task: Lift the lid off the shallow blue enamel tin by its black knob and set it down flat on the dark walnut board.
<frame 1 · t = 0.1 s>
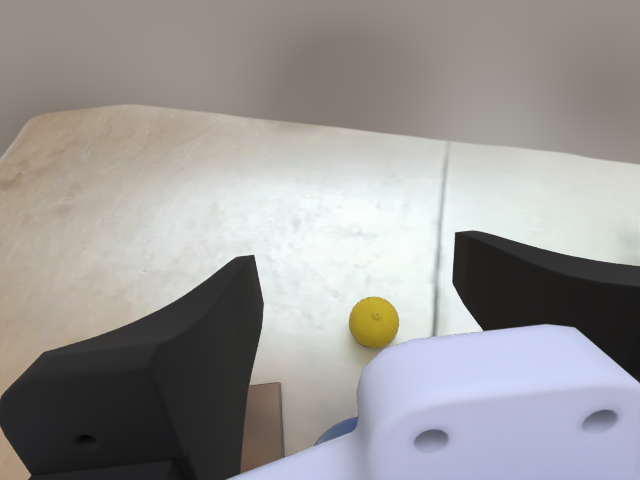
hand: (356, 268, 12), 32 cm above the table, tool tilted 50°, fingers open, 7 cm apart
lemon: (370, 329, 43), on the table
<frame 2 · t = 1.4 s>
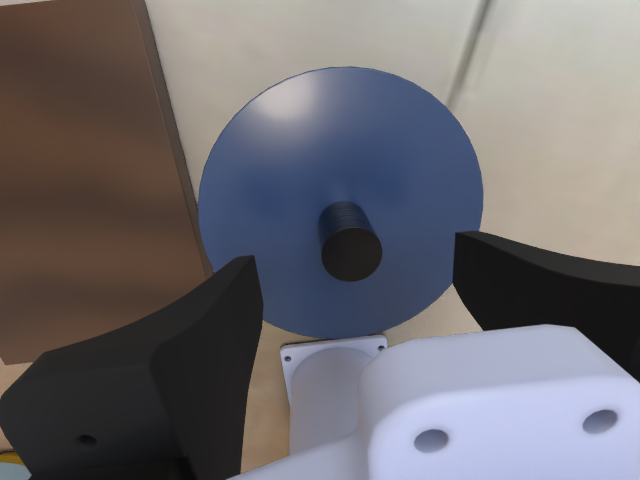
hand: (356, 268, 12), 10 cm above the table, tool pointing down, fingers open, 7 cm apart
bottle: (26, 472, 30), on the table
lid: (341, 221, 17), point 5 cm above the table, touching tin
board: (71, 207, 21), on the table
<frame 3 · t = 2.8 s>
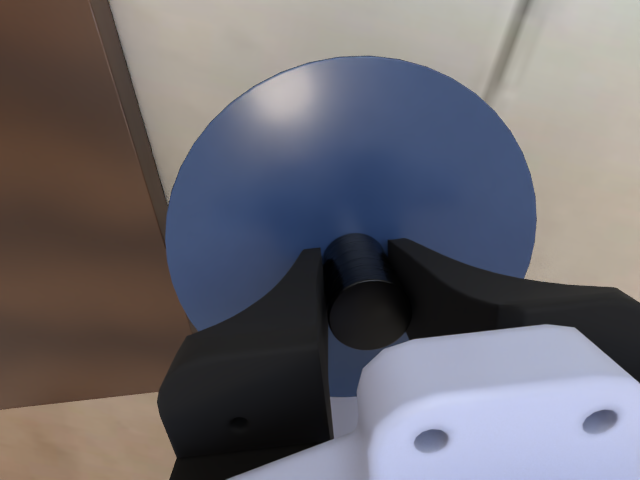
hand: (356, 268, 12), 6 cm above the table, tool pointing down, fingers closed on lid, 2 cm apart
lid: (352, 256, 13), point 5 cm above the table, touching gripper, tin
board: (21, 231, 17), on the table
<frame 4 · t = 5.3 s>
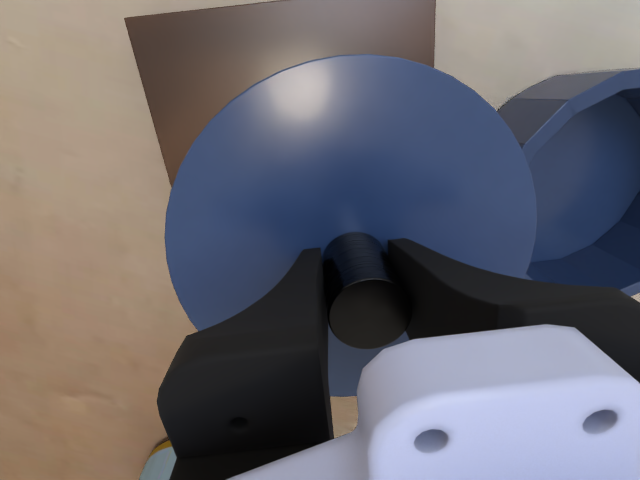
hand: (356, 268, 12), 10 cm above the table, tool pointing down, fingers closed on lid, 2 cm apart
bottle: (191, 457, 31), on the table
lid: (351, 255, 13), point 9 cm above the table, touching gripper
board: (305, 194, 22), on the table
tin: (553, 181, 22), on the table
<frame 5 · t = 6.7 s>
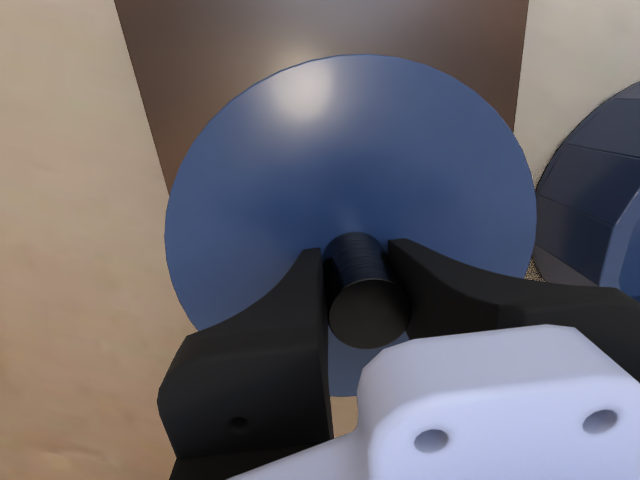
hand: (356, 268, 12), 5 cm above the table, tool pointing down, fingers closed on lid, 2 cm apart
lid: (351, 255, 13), point 4 cm above the table, touching gripper
board: (340, 218, 17), on the table
when the fingers open (3 cm above the table, at t = 7.7 s): lid stays where it is, resting on board.
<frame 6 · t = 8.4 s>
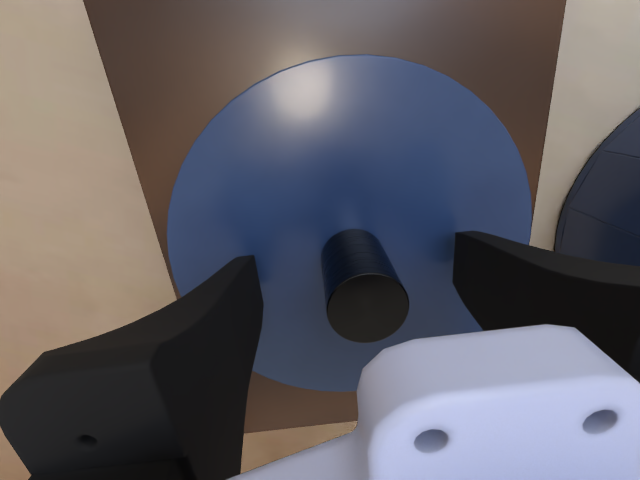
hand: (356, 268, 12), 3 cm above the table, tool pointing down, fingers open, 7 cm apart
lid: (350, 252, 13), point 2 cm above the table, touching board
board: (345, 233, 15), on the table
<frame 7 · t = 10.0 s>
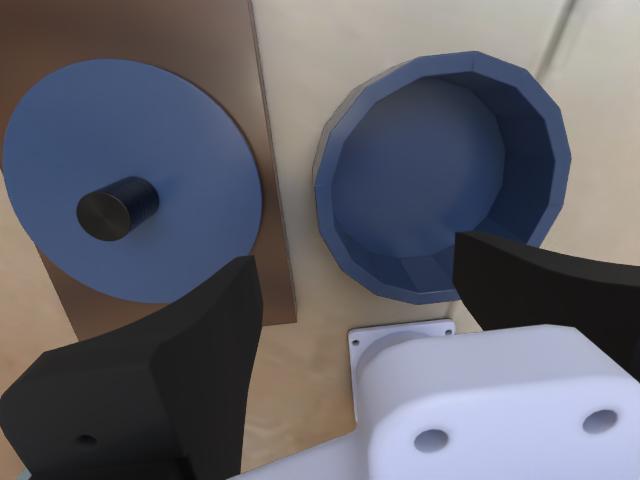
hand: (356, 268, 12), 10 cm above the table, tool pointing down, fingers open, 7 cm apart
lid: (141, 195, 19), point 2 cm above the table, touching board
board: (156, 187, 21), on the table
tin: (413, 175, 22), on the table
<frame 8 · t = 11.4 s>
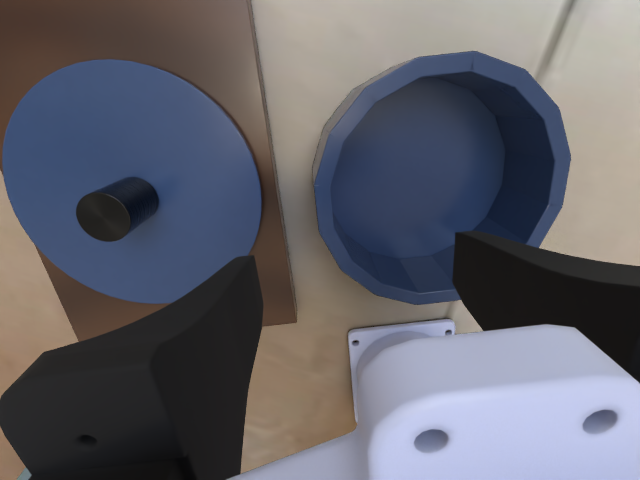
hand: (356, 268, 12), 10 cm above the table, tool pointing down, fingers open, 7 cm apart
lid: (140, 195, 19), point 2 cm above the table, touching board
board: (156, 188, 21), on the table
tin: (413, 175, 22), on the table
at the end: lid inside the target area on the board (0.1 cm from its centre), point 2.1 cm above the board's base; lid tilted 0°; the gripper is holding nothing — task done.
